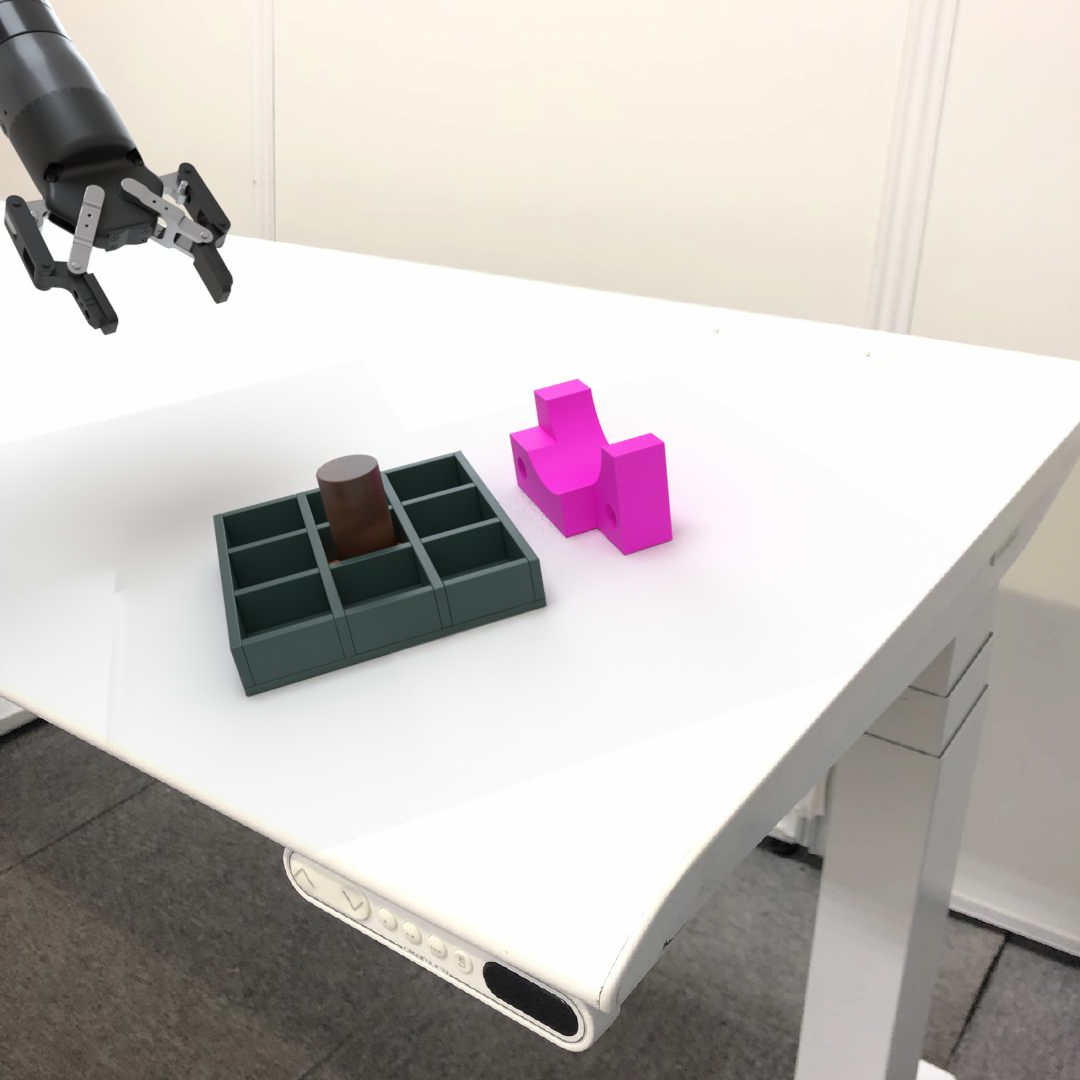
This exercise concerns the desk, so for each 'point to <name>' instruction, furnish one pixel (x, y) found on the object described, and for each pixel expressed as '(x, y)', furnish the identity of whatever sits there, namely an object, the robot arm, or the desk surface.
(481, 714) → the desk surface
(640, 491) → the toy block
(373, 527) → the cylinder
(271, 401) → the desk surface
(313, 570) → the grid
